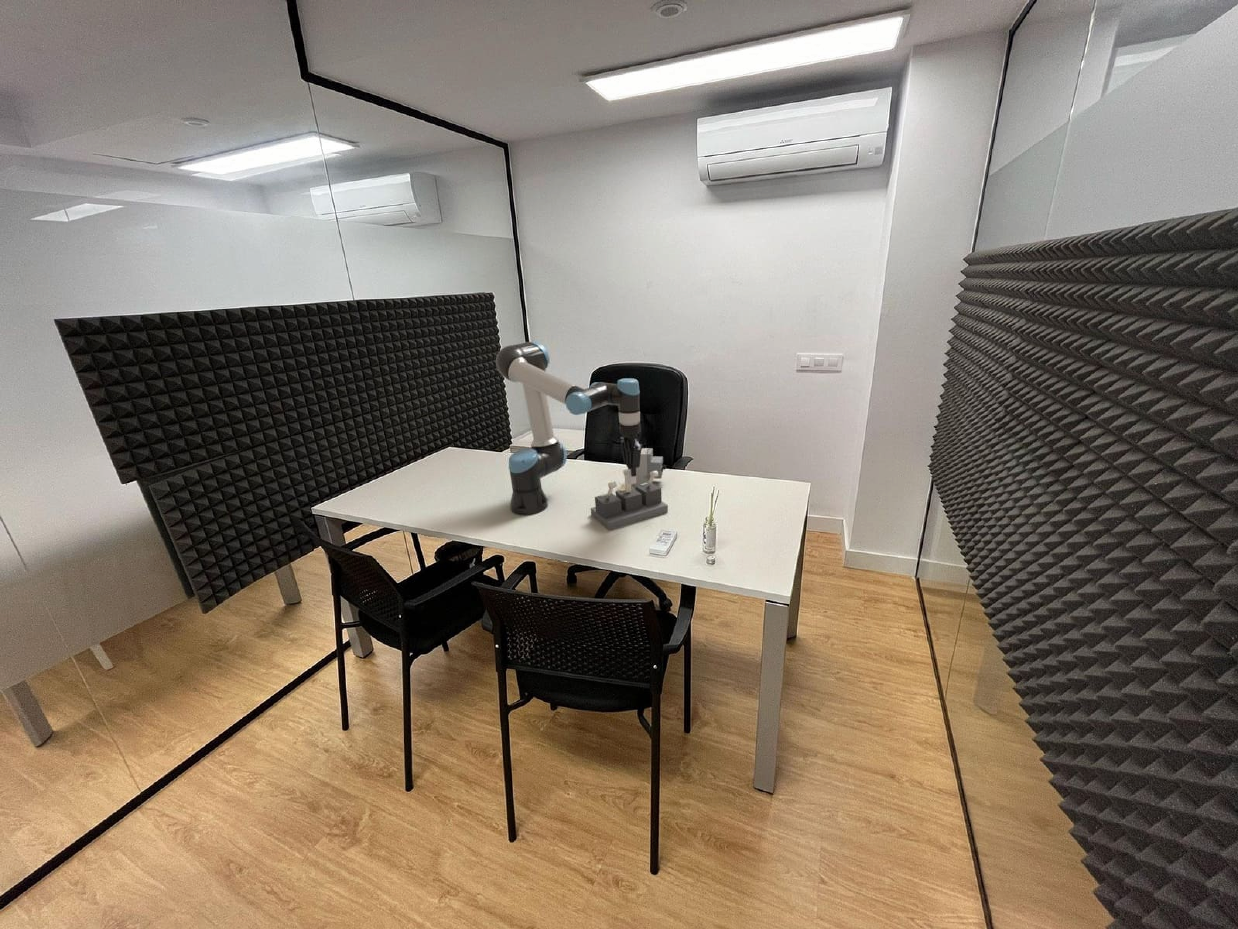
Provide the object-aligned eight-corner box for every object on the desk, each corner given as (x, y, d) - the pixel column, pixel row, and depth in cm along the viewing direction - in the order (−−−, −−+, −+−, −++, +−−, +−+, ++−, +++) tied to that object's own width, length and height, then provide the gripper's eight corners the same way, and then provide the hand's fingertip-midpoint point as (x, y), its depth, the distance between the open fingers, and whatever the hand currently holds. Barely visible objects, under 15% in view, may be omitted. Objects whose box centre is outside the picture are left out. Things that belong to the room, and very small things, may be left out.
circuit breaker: (665, 486, 211) (664, 454, 206) (633, 485, 214) (631, 453, 209) (666, 480, 218) (666, 448, 213) (635, 479, 221) (634, 448, 216)
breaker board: (591, 515, 189) (588, 474, 183) (647, 498, 201) (646, 460, 194) (609, 530, 177) (606, 487, 171) (667, 512, 188) (667, 471, 182)
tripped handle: (624, 491, 186) (623, 469, 182) (629, 489, 187) (628, 467, 183) (627, 493, 184) (625, 471, 181) (632, 491, 185) (631, 469, 182)
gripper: (648, 424, 168) (650, 486, 177) (629, 416, 179) (632, 475, 188) (629, 428, 165) (632, 491, 174) (612, 420, 176) (615, 479, 184)
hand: (632, 483), depth 181 cm, fingers closed
